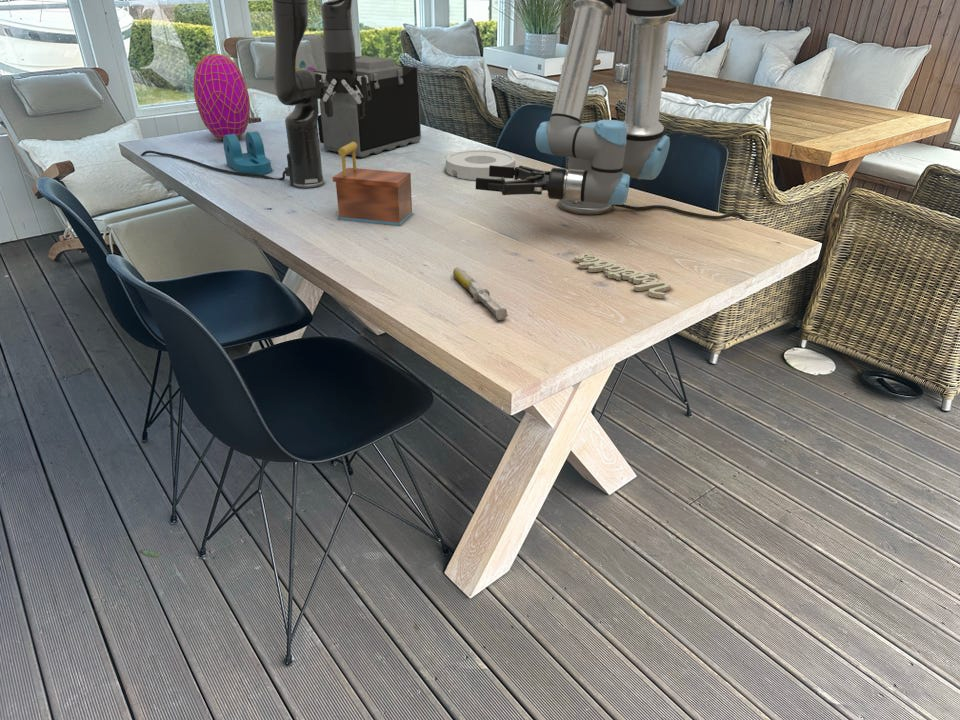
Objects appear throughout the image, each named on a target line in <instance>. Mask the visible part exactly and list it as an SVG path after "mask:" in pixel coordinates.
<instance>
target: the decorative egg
mask: <svg viewBox="0 0 960 720" xmlns="http://www.w3.org/2000/svg"><path fill="white" fill-rule="evenodd" d="M193 96H194V101H195V105H196V107H197V111H198V113H199V116H200V118H201V119H200V120H201V121H202V122H203V124H204V126H205V127H206V128H207V130H208V131H209V132H210V133H211V135H212V136H214V137H215V138H217V139H219V140H223V137H224V135H230V134H235V135H236V136H237V138H238V139H239V138H241V137H242V136H243V135H244V133H245V132H246V130H247V128H248V125H249V121H250V115H251V101H250V94H249V90H248V86H247V83H246V80H245V78H244V75H243V73H242V72H241V70H240V68H239V67H238V66H237V64H236V63H235V62H234V60H233V59H231V58H229V57H228V56H227V55H224V54H221V53H211V54H207V55H205V56H203V57H202V58H201V59H200V60H199V61H198V62H197V65H196V67H195V69H194V73H193Z"/></svg>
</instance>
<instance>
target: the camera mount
mask: <svg viewBox="0 0 960 720" xmlns="http://www.w3.org/2000/svg"><path fill="white" fill-rule="evenodd" d="M222 140H223V141H222V143H223V149H224V150H223V151H224V156H225V161H226V165H227V166H228V167H230V168H231V169H232V170H233V171H235V172H242V173H250V174H261V175H265V174H268V173H271V172H272V164H271V159H270V158H268V157H267V156H266V153H265V145H264V141H263V139H262V136H261V134H260V132H258V131H247V132H246V133H245V146H246V152H243V151H242V150H243V149H242V146H241V142H240V140H239V138H237V136H236V135H235V134H230V135H224V137H223V139H222Z"/></svg>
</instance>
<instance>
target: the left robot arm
mask: <svg viewBox="0 0 960 720" xmlns="http://www.w3.org/2000/svg"><path fill="white" fill-rule="evenodd" d="M352 4H353V0H328V1H325V2H323V3H322V5H321V8H320V9H321V10H320V11H321V21H322V31H323V32H322V33H323V34H322V40H323V44H322V45H323V46H322V47H323V52H324V63H325V69H326V72H327V73H326V74H323V73H318V74H316V75H315V79H314V76H313V75H312V73H311V72H310V71H308V70H306V69H300V68H299V69H296V67H297V65H296V64H297V63H296V61H297V54H298V49H299V47H300V45H301V42H302V40H303V37H304V35H305V32H306V30H307V27H308V23H309V0H272V11H273V22H274V23H273V25H274V73H273V74H274V75H273V76H274V77H273V81H274V83H273V85H274V91H275V94H276V97H277V99H278V101H279V102H280V103H281V104H282V105H284V106H294V108H293V109H292V111H291V112H290V113H289V114H288V115H287V116H286V117H285V120H284V123H285V131H286V138H287V146H288V153H287V154H286V161H287V166H286V167H284V171H283V172H282V174H281V176H282V177H280V178H276V177H273V176H268V175H265V174H250V173H242V172H237V171H235V170H228V169H223V168H219V167H215V166H212V165H208V164H205V163H202V162H199V161H197V160H194V159H190V158H188V157H184V156H181V155H176V154H172V153H164V152H159V151H155V150H145V151H143V152H142V153H141V154H140V156H141V157H144V156H145V155H146V154H154V155H159V156H164V157H172V158H175V159H179V160H183V161H187V162H190V163H192V164H196V165H198V166H201V167H204V168H207V169H211V170H214V171H217V172H222V173H226V174H231V175H240V176H246V177H255V178H256V177H257V178H264V179H267V180H274V181H275V180H276V181H283V180H285V179H286V177H289V184H290V186H294V187H296V188H300V189H301V188H303V189H310V188H317V187H320V186H322V185H324V184H325V182H324V175H323V167H322V157H321V147H320V139H319V130H318V116H319V115H320V114H319V112H320V111H319V100H320V99H321V100H323V101H324V107H325V114H326V115H327V117H332V116H333V106H332V101H331V98H332V96H333V95H334V94H335V92H336V93H341V92H342V93H346V94H347V93H350V95H351V96H352V97H354V99H355V100H356V101H357V103H358V104H357V114H358V119H362V118H363V117H364V116H365V102H367V101H369V100H371V98H372V97H371V89H370V81H369V76H368V75H365V76H358V75H357V73H356V56H357V55H356V46H355V43H356V42H355V36H354V30H353V18H352ZM325 80H327V82H328V83H329V87H328V89H327V90H326V93H325V94H324V82H325ZM358 81H359V82H360V85H362V92H363V95H362V94H361V92H360V90H359V88H358V87H357V86H356V84H357V82H358Z"/></svg>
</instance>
